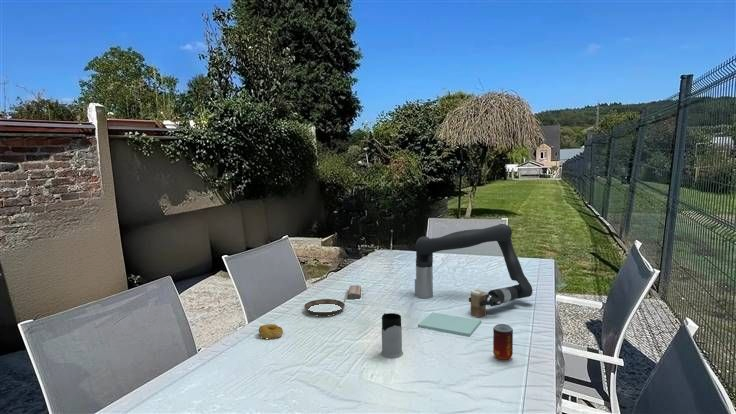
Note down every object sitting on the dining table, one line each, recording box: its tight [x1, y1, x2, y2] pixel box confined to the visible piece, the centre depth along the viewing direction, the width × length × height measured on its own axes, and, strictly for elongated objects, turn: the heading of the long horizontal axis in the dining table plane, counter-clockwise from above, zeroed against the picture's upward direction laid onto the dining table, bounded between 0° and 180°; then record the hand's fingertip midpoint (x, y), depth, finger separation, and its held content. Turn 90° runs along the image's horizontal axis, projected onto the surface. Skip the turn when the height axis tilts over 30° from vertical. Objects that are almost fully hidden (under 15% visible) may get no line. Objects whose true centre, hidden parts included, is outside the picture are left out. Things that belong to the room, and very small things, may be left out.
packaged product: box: [344, 285, 362, 301], centre depth 245 cm, size 18×5×10 cm
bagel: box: [258, 323, 284, 340], centre depth 192 cm, size 10×11×5 cm
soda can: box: [492, 323, 514, 362], centre depth 165 cm, size 7×7×12 cm
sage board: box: [417, 311, 482, 337], centre depth 200 cm, size 24×18×1 cm
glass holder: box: [380, 312, 404, 359], centre depth 173 cm, size 9×14×15 cm, turn 15°
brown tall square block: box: [470, 288, 487, 319], centre depth 211 cm, size 5×5×12 cm
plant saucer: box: [304, 298, 346, 317], centre depth 223 cm, size 21×21×3 cm
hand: (474, 302), depth 210 cm, fingers open, 7 cm apart
